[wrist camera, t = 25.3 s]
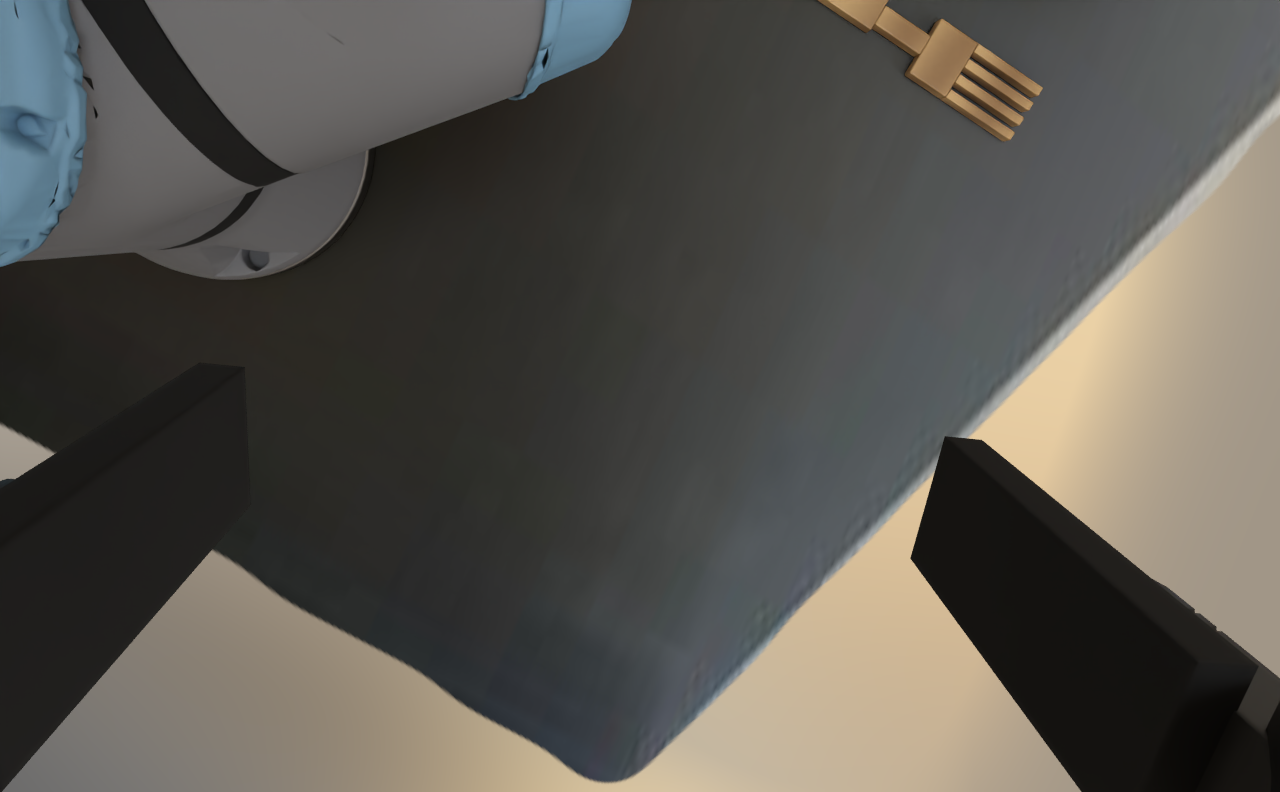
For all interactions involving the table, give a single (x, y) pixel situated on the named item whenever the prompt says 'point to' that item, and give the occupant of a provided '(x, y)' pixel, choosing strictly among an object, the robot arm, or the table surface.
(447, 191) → the table surface
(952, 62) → the tan flat long part
